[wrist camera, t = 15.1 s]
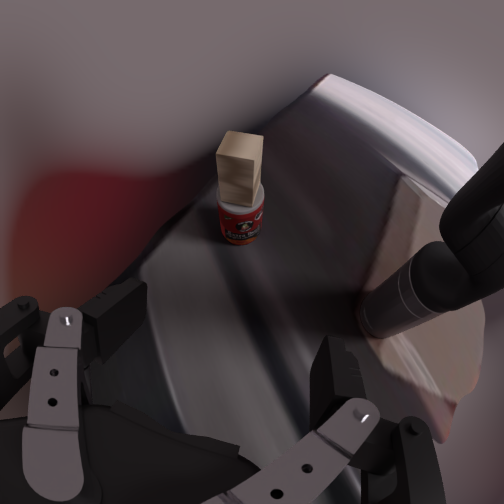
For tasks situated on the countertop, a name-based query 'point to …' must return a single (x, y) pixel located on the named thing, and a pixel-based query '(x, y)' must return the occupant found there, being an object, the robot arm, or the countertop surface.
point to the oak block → (239, 167)
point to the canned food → (241, 219)
